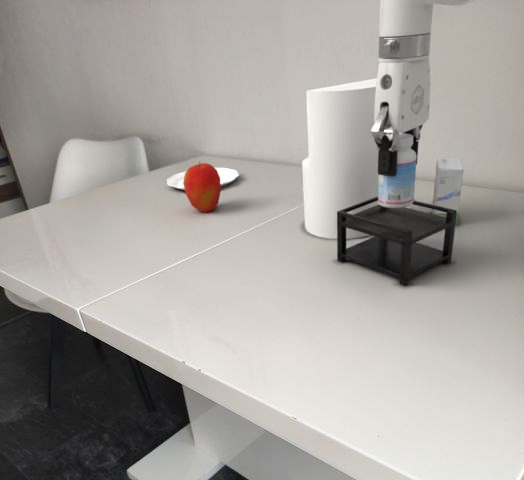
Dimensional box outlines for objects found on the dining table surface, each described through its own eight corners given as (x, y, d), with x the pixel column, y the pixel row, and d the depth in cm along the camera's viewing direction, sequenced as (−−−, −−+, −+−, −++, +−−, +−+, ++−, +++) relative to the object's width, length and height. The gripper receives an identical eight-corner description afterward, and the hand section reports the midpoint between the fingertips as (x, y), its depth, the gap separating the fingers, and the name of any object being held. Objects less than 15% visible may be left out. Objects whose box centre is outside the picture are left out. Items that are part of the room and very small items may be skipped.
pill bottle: (420, 201, 94) (425, 134, 88) (400, 211, 91) (404, 142, 85) (391, 196, 98) (394, 131, 92) (370, 205, 94) (372, 138, 88)
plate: (155, 193, 151) (153, 187, 150) (186, 172, 168) (185, 167, 167) (223, 194, 145) (222, 188, 144) (249, 173, 161) (248, 167, 160)
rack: (451, 262, 98) (457, 210, 93) (404, 286, 91) (408, 231, 86) (383, 241, 109) (384, 193, 103) (337, 261, 102) (336, 211, 97)
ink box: (457, 225, 112) (464, 168, 106) (433, 225, 113) (438, 168, 107) (454, 212, 119) (460, 157, 113) (431, 212, 120) (436, 158, 114)
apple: (197, 203, 140) (189, 156, 133) (229, 204, 137) (223, 156, 131) (182, 216, 133) (173, 166, 126) (215, 217, 130) (209, 166, 123)
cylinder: (401, 225, 115) (409, 80, 100) (335, 245, 109) (333, 94, 94) (351, 206, 128) (352, 75, 113) (290, 223, 122) (282, 87, 107)
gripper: (397, 55, 74) (390, 186, 84) (453, 42, 84) (441, 160, 94) (350, 56, 78) (350, 180, 88) (409, 43, 89) (403, 155, 98)
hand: (397, 168), depth 91 cm, fingers closed on pill bottle, 6 cm apart
